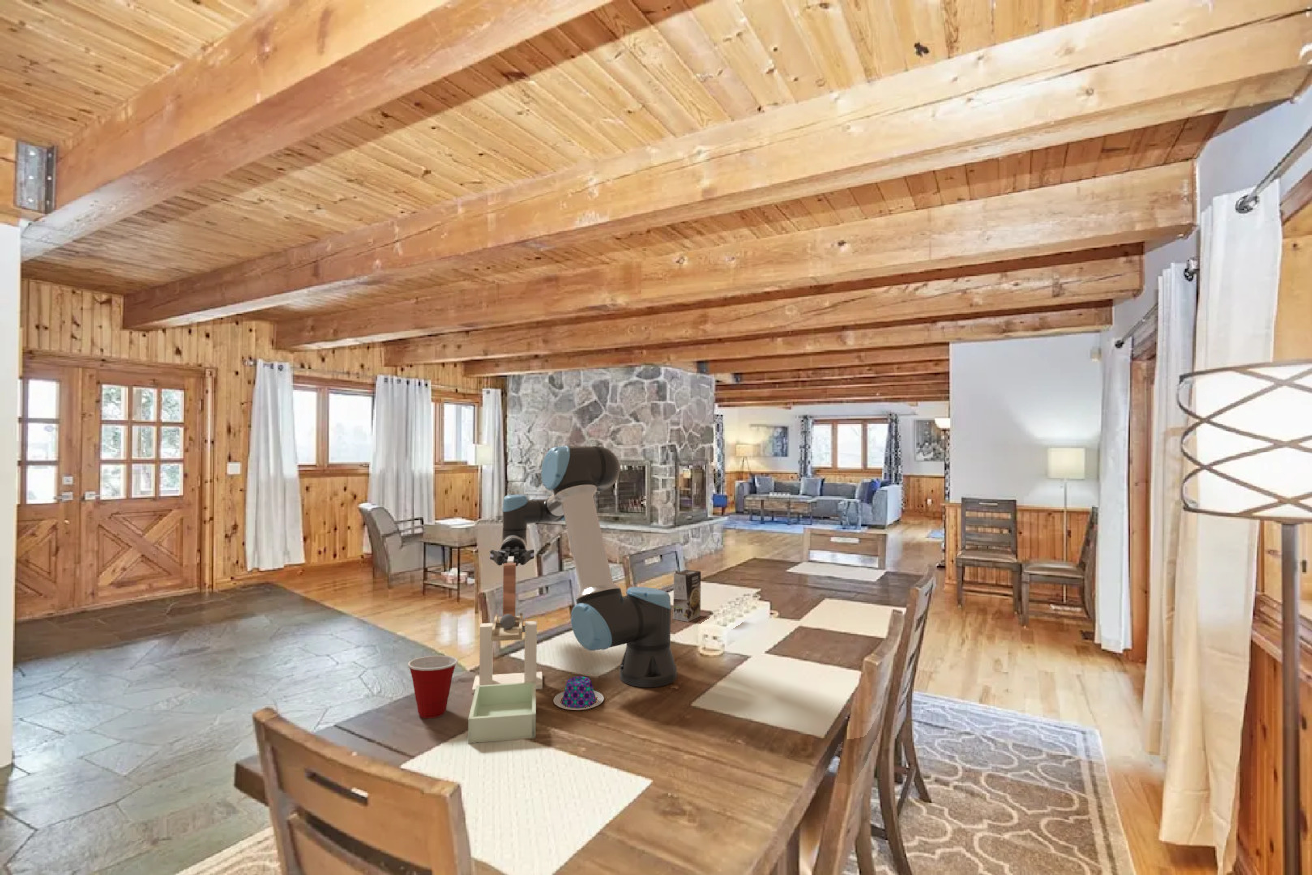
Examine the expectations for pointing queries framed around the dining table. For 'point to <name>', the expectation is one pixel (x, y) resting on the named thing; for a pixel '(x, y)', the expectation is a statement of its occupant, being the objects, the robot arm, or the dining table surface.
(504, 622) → the ball
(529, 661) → the stand
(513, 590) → the lever
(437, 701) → the plastic cup
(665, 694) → the dining table surface
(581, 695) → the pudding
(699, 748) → the dining table surface
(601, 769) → the dining table surface
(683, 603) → the coffee box
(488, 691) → the tray
